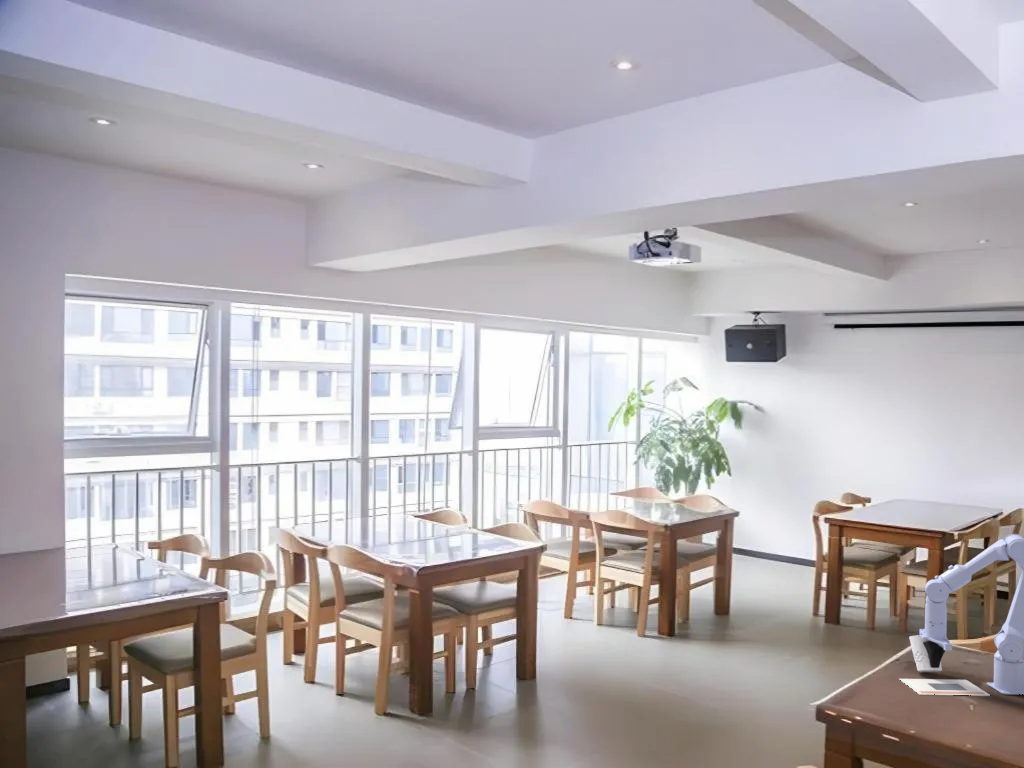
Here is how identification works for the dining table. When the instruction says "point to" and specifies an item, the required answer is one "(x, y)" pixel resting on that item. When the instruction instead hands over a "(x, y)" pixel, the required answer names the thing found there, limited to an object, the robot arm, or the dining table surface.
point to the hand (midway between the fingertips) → (934, 667)
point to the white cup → (921, 655)
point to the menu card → (944, 687)
